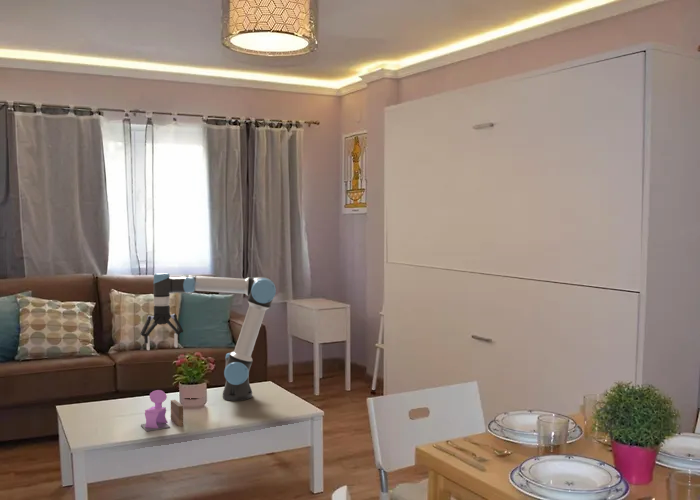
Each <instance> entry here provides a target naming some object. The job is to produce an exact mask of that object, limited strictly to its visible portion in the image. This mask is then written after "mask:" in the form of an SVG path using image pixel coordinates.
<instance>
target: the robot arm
mask: <svg viewBox="0 0 700 500" xmlns="http://www.w3.org/2000/svg"><path fill="white" fill-rule="evenodd" d="M152 285H153V305H154V306H153V315H147V317H146V321H145V323H144V325H143V327H142V329H141V331H140V336H142V337H143V338H144V343H145V344H146V350H147V351H150V348H151V347H150V346H151V344H150V343H151V339H150V336H149V335H150V334H151V333H152V331H153V330H154V329H155V328H156V327H157V326H158V325H168V326H169V327H170V328H171V329H172V331H173V332H175V333H174V338H173V339H174V343H173V344H174V348H175V349H177V348H178V345H179V344H178V343H179V342H178V341H180V335H181V333H184V330H183V328H182V326H181V323H180V322H179V319H178V316H177V314H176V313H173V314H171V305H170V304H171V301H170V299H171V298H170V297H171V295H170V294H173V293H176V294H177V293H180V294H181V293H187V294H188V293H194V292H195V291H197V292H212V293H214V292H215V293H229V294H230V293H232V294H245V296H248V299H247V303H248V304H249V305H248V308H247V311H246V314H245V317H244V321H243V323H242V326H241V329H240V333H239V336H238V339H237V342H236V344H235V347H234V350H233V351H231V352H228V353H226V354H225V366H224V367H225V368H224V370H223V376H224V378H225V385H224V388H223V391H222V399H223V400H225V401H246V400H249V399H252V398H253V391H252V387H251V385H250V381H249V379H250V377H249V375H250V370H251V366H252V364H253V362H254V361H253V358H252V354H253V351H254V348H255V345H256V341H257V338H258V336H259V332H260V330H261V327H262V323H263V320H264V318H265V313H266V312H267V310H269V309H271V305H272V303H273V299H274V298H275V296H276V294H277V289H276V288H277V287H276V285H275V282H274V281H273V280H272V279H271V278H270V277H268V276H255V277H253V276H252V277H251V276H249V277H246V278H238V277H237V278H234V277H223V276H222V277H221V276H220V277H219V276H204V275H203V276H202V275H190V274H183V275H181V276H179V277H178V276H174V277H172V276H170V273H166V272H160V273H159V272H158V273H154V274H153V283H152ZM171 319H173V321H174V323H175V325H176V326H174V324H173V323H172V322H171V321H170V320H171ZM152 320H154V321H153V322H152V324H151V321H152ZM150 324H151V325H150ZM149 325H150V327H149Z"/></svg>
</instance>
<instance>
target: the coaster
mask: <svg viewBox="0 0 700 500" xmlns="http://www.w3.org/2000/svg"><path fill="white" fill-rule="evenodd" d="M156 424H157V426H158V428H147V427H145V426H146V423H141V424H140V426H141V428H143V429H144V430H145V431H146V432H153V431H159V430H165V429H171V426H170V425H169V424H168V423H160V422H156Z"/></svg>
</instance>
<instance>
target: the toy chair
mask: <svg viewBox="0 0 700 500" xmlns="http://www.w3.org/2000/svg"><path fill="white" fill-rule="evenodd" d="M167 396H168V395H167V393H165V391H164V390H161V389H157V390H153V391H152V392H151V391H150V393H149V399H150V401H151V402H152V403H153V404H154V406H151V407H149V408H147V409H145V410H144V411H145V412H144V417H145V424H146V426H145V427H147V428H158V426H157V424H156V422H160V423H166V424H168V420H167V418H166V413H167V409H166V407H165V406H163V403H164V402H165V401H166V400H167V398H168V397H167Z"/></svg>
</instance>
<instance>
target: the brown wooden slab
mask: <svg viewBox="0 0 700 500" xmlns="http://www.w3.org/2000/svg"><path fill="white" fill-rule="evenodd" d="M170 421H172V422H173V423H174V424H175V425H176V426H178V427H184V405H183V404H181V402H179V401H178V400H176V399H171V400H170Z"/></svg>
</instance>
